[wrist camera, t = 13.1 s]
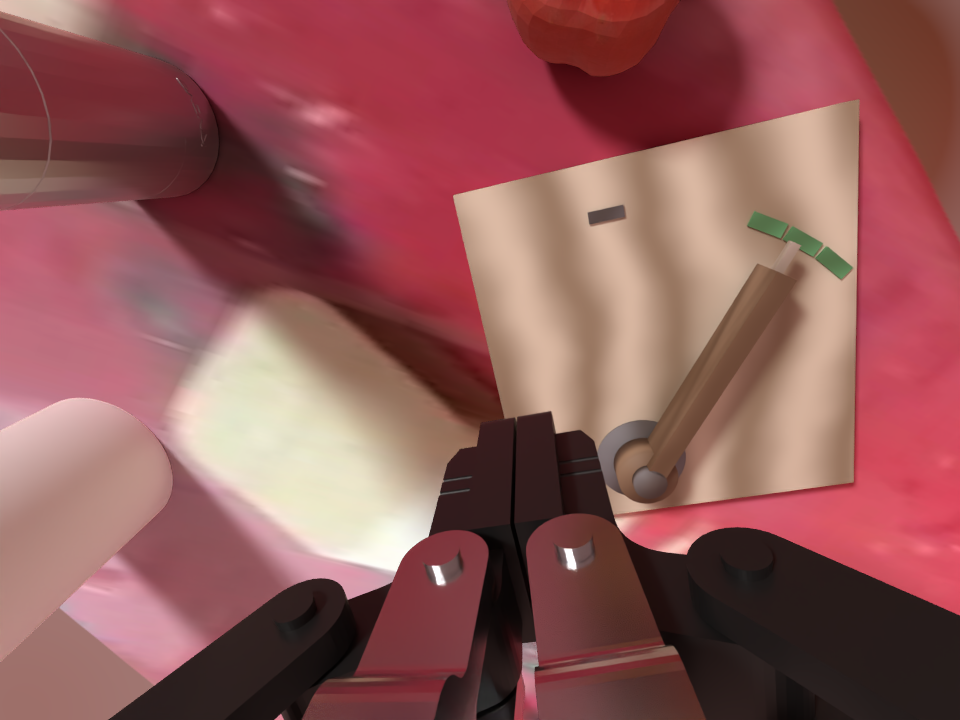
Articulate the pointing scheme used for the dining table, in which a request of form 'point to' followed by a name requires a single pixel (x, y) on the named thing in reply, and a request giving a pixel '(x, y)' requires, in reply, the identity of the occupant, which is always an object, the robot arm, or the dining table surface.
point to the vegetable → (591, 31)
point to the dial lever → (703, 384)
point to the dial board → (682, 299)
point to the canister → (70, 503)
